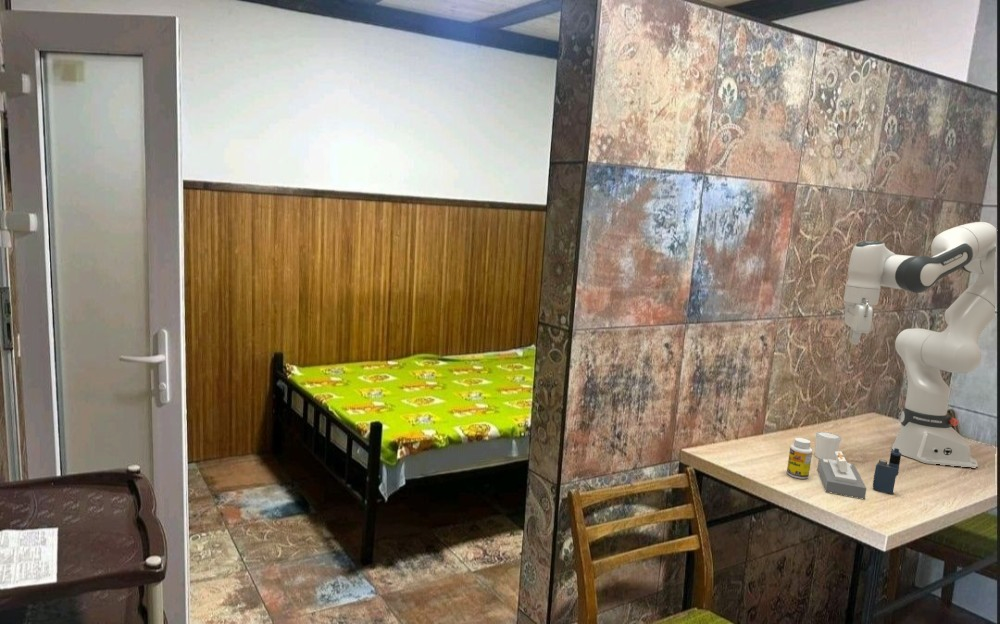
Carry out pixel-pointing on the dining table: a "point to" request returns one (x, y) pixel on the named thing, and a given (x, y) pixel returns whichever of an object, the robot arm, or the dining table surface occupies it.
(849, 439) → the dining table surface
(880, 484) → the vaping device
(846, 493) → the panel
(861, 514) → the dining table surface
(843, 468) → the double breaker paddle
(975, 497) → the dining table surface
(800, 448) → the supplement bottle
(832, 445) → the white cylinder
